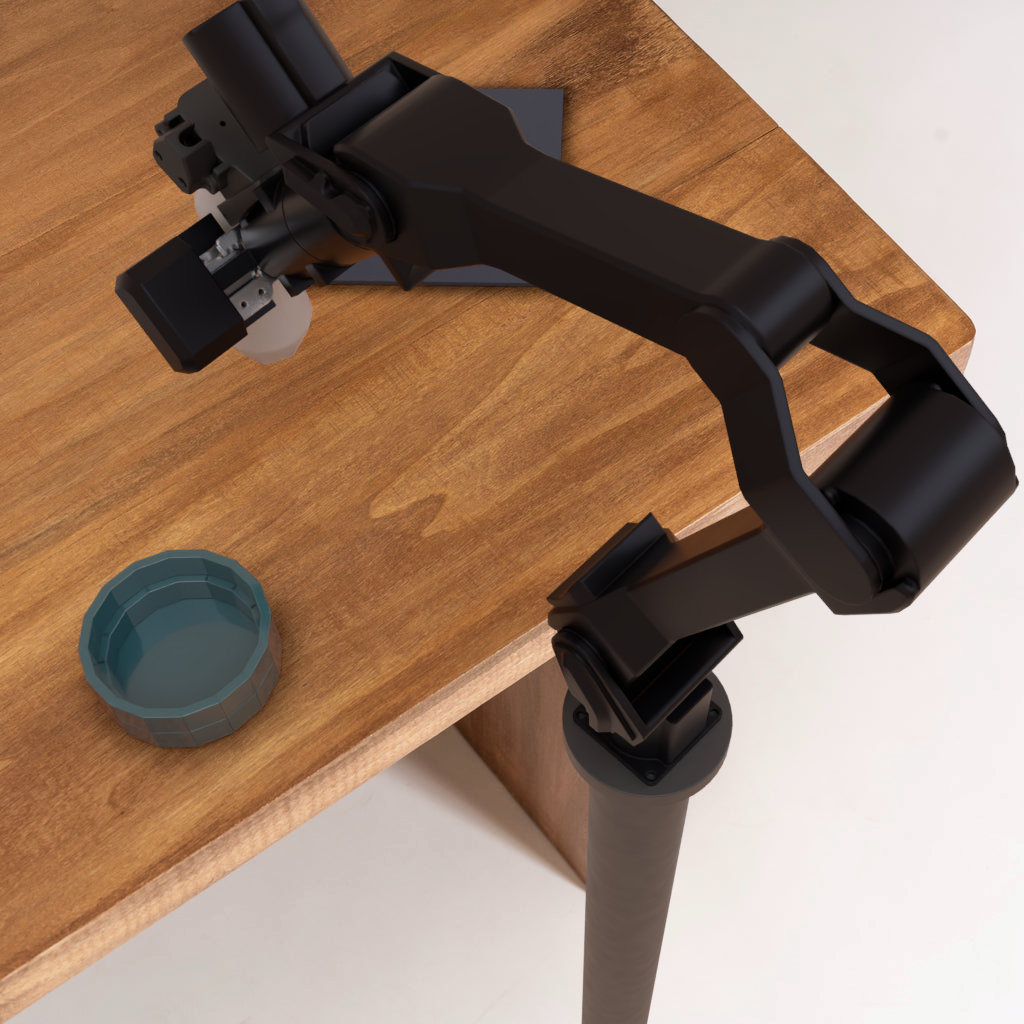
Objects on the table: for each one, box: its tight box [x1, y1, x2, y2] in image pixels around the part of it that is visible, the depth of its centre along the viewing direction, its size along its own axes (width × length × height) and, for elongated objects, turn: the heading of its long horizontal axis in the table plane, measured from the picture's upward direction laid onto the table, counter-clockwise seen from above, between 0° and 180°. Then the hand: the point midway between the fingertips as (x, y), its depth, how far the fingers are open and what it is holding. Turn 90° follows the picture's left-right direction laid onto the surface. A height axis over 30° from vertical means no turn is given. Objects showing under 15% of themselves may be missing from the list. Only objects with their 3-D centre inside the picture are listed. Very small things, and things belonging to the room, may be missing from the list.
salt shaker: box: [193, 189, 314, 366], centre depth 84 cm, size 6×6×13 cm
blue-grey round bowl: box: [77, 548, 283, 748], centre depth 83 cm, size 11×11×4 cm
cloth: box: [313, 88, 565, 288], centre depth 106 cm, size 20×20×1 cm
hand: (237, 254), depth 84 cm, fingers closed on salt shaker, 3 cm apart
